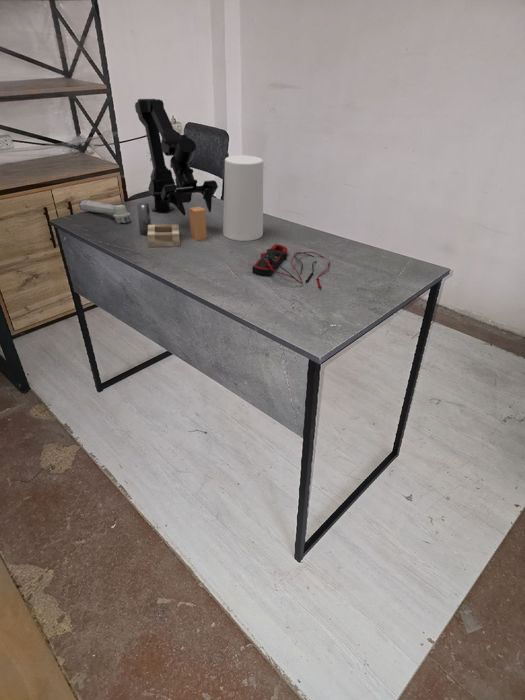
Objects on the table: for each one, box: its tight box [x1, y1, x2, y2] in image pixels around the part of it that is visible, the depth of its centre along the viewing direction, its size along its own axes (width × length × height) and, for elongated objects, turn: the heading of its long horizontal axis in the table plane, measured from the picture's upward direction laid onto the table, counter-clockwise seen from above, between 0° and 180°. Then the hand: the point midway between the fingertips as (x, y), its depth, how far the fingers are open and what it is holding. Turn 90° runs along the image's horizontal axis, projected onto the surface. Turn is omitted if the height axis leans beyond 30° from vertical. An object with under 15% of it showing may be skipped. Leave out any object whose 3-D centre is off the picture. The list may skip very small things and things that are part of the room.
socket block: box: [147, 223, 181, 248], centre depth 154 cm, size 10×10×4 cm
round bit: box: [136, 202, 152, 237], centre depth 157 cm, size 4×4×10 cm
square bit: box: [188, 206, 207, 241], centre depth 156 cm, size 4×4×10 cm
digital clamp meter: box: [252, 244, 331, 292], centre depth 140 cm, size 23×4×25 cm
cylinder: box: [222, 154, 264, 242], centre depth 157 cm, size 14×25×14 cm
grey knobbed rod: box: [78, 199, 131, 224], centre depth 173 cm, size 5×7×25 cm
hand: (197, 213), depth 154 cm, fingers open, 9 cm apart
